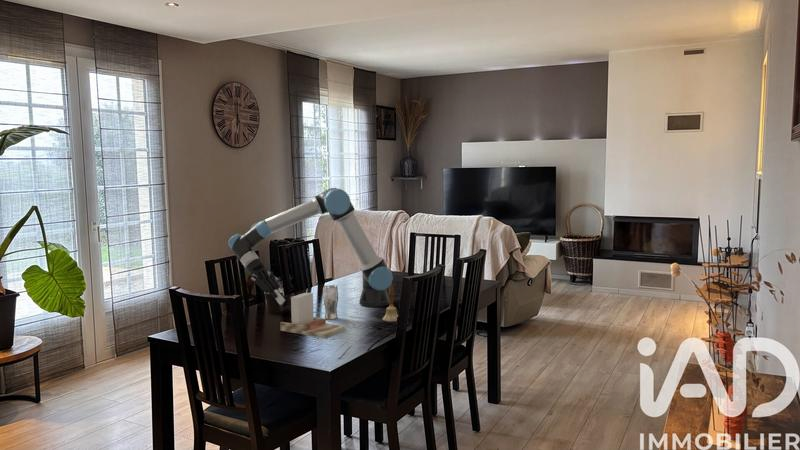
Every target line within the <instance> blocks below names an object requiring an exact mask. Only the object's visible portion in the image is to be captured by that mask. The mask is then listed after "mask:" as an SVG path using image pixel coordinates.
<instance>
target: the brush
mask: <svg viewBox="0 0 800 450" xmlns="http://www.w3.org/2000/svg"><path fill="white" fill-rule="evenodd" d="M388 297H389V306H388V307H386V310H385V315H384V316H383V317H382V319H381V320H382V321H384V322H388V323H389V322H390V323H391V322H392V323H393V322H394V323H395V322H398V321H397V317H398V316H399V314H398V311H397V307H395V306H394V297H395V288H394V286H393V284H391V285H390V286H389V287H388Z"/></svg>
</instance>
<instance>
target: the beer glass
mask: <svg viewBox="0 0 800 450" xmlns="http://www.w3.org/2000/svg"><path fill="white" fill-rule="evenodd" d="M322 299H323V304H324V305H323V306H324V311H325V312H324V313H325V314H324V319H326V320H327V321H335V320H338V318H339V317H338V302H339V290H338V285H332V284H331V285H324V286H323V288H322Z"/></svg>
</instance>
